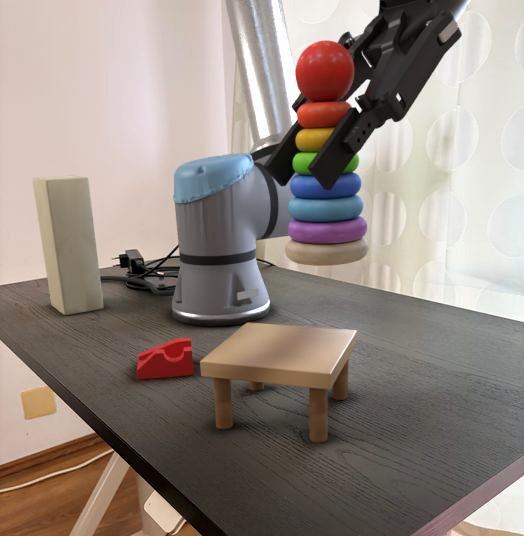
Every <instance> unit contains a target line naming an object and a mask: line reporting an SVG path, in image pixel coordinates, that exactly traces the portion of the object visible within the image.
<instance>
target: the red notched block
mask: <svg viewBox="0 0 524 536" xmlns="http://www.w3.org/2000/svg"><path fill="white" fill-rule="evenodd" d="M137 356H138V357H137V359H138V362H137V368H136V376H137V380H139V381H140V380H149V379H160V378H172V377H185V376H194V375H195V372H194V370H195V369H194V359H193V346H192V337H191V336H190V337H179V338H175V339H172V340H170V341H167V342H165V343H162V344H160V345H157V346H155V347H152V348H149V349H147V350H144V351H142V352H139V353H138V355H137Z"/></svg>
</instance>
